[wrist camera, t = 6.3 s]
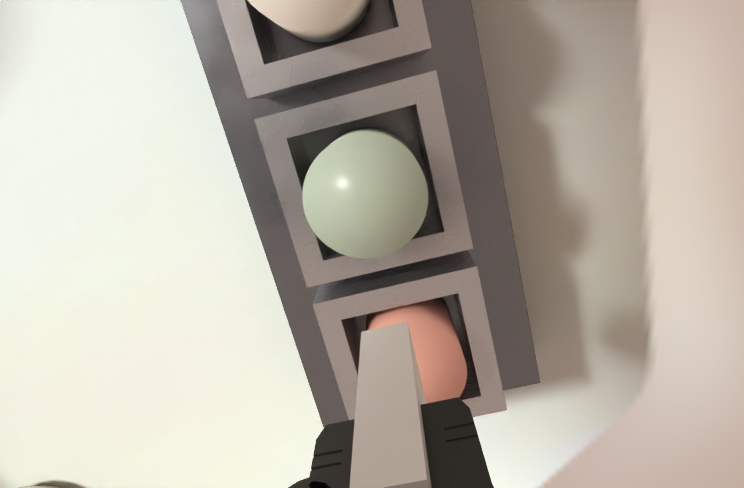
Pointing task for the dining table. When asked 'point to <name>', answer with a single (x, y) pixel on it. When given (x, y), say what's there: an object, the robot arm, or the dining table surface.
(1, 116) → the dining table surface
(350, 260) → the console
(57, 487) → the can
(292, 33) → the button ivory
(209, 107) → the dining table surface
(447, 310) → the button coral
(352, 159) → the button sage
